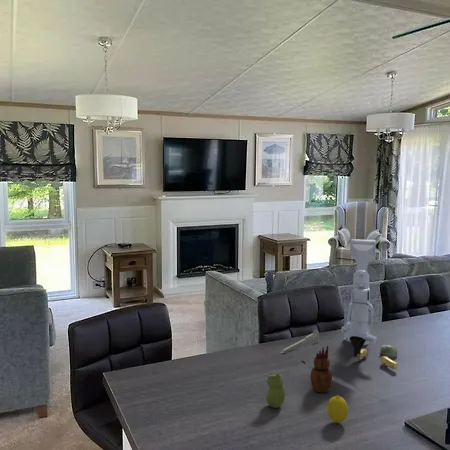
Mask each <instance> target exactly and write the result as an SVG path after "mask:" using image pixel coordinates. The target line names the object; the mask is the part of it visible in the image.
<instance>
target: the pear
mask: <svg viewBox="0 0 450 450" xmlns="http://www.w3.org/2000/svg"><path fill="white" fill-rule="evenodd" d="M283 382H284V381H283V379H282V377H281V374H280V373H273V374H271V375H268V376H267V379H266V383H267V385H268V390H267V392H266V395H265V400H266V403H267V404H268V405H269V407H270V408H275V409H278V408H280V407H281V406H283V404H284V403H285V399H286V394H285V392H286V391H285V388H284V385H283V384H284V383H283Z"/></svg>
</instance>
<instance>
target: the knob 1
mask: <svg viewBox="0 0 450 450" xmlns="http://www.w3.org/2000/svg"><path fill="white" fill-rule="evenodd" d="M367 358H368V348H367V349H366V348H363V347H362V349H361V352H359V353H358V354H357V357H356V360H357V361H362V359H365V360H366V359H367Z"/></svg>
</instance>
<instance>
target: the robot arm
mask: <svg viewBox="0 0 450 450" xmlns="http://www.w3.org/2000/svg"><path fill="white" fill-rule="evenodd" d="M376 241H377V240H375V239H358V238H357V239H356V238H351V239H350V245H349V252H350V258H351V259H352V260H355V262H356V271H355V272H353V273H354V274H353V277H352V278H353V281H352V282H353V283H352V289H351V293H350V295H351V296H350V301H351V302H350V303H349V304H348V310H347V322H346V324H345V325H344V326H341V333H344V340H345V341H347V342H349V343H351V346H352V348H353V354H354V357H356V358H357V354H358V353H359V352H361V349H362V348H363V346H368V345H369V343H371V344H377V343H378V336H375V335H373V334H371V333H370V326H372V325H373V324H374V307H373V305H372V303H371V289H370V274H369V273H368V269H369V268H368V265H369V263H370V261H372V260H375V258H376V252H377V251H376V249H377V242H376Z"/></svg>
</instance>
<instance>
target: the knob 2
mask: <svg viewBox="0 0 450 450" xmlns="http://www.w3.org/2000/svg"><path fill="white" fill-rule="evenodd" d="M380 366H381V367H383V368H388V367H389V368H390V369H392V370H394V371H396V370H398V362H396V361H394V360H392V358H388V357H386V356H382V355H381V357H380Z"/></svg>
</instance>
